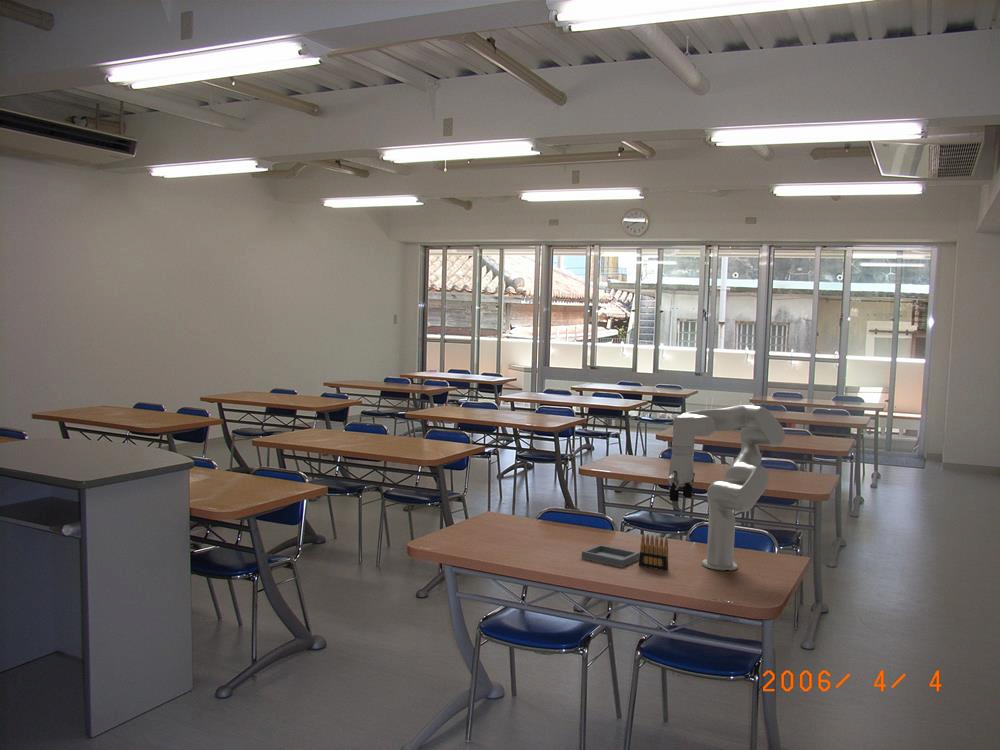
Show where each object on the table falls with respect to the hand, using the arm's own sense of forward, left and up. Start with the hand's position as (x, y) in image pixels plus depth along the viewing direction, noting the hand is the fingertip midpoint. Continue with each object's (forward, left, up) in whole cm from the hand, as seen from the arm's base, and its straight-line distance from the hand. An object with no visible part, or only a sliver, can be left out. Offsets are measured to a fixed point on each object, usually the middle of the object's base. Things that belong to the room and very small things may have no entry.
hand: (680, 499), depth 277 cm
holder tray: (-3, -28, -27) cm, 39 cm away
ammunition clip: (-4, -11, -28) cm, 30 cm away
